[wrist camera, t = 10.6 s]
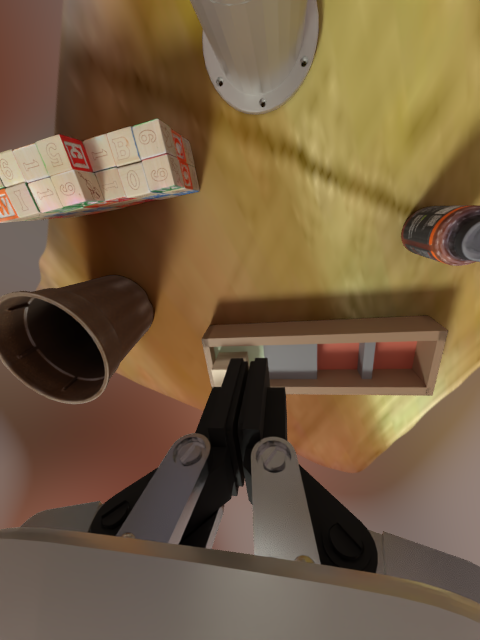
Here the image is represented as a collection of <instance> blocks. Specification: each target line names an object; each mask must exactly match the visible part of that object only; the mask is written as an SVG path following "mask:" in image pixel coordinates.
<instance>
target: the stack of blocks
mask: <svg viewBox="0 0 480 640" xmlns="http://www.w3.org/2000/svg"><path fill="white" fill-rule="evenodd" d="M199 191H200V189H199V185H198V180H197V175H196V170H195V165H194V160H193V155H192V150H191V146H190V142H189V141H188V140H187V139H185V138H183V137H182V136H181V135H180V134H178V133H177V132H175V131H174V130H172V129H170V127H169V126H168V125H167V124H165V123H164V122H162V121H161V120H159V119H153V120H150V121H147V122H144V123H141V124H137V125H135V126H133V127H131V126H129V127H126V128H123V129H119V130H116V131H113V132H109V133H107V134H102V135H99V136H96V137H93V138H90V139H87V140H85V141H84V142H82V141H80V140H78V139H74V138H71V137H68V136H64V135H61V134H58V135H55V136H52V137H49V138H46V139H43V140H40V141H37V142H36V143H34V144H30V145H27V146H24V147H21V148H17V149H15V150H13V149H12V150H7V151H4V152H1V153H0V222H1V223H3V222H15V221H29V220H43V219H51V218H61V217H62V218H70V217H79V216H83V215H89V214H96V213H101V212H106V211H111V210H117V209H121V208H125V207H126V206H131V205H136V204H141V203H143V202H149V201H153V200H163V199H168V198H173V197H177V196H180V195H185V194H190V193H194V192H199Z"/></svg>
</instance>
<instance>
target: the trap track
mask: <svg viewBox="0 0 480 640" xmlns="http://www.w3.org/2000/svg"><path fill="white" fill-rule="evenodd" d="M447 333H448V330H447V329H445V328H444V327H443V326H442V325H440V324H439V323H438V322H436V321H435V320H434V319H432V318H431V317H430V316H406V317H383V318H361V319H339V320H317V321H294V322H272V323H250V324H227V325H210V326H209V327H208V329H207V331H206V332H205V334H204V336H203V337H202V344H203V348H204V353H205V358H206V363H207V367H208V372H209V377H210V382H211V386H212V389H213V387H215V385H214V380H213V376H212V371H211V369H212V367H213V365H214V362H215V360H216V358H217V355H218V353H219V352H248V359H249V366H250V362H251V361H255V358H268V367H269V378H270V387H285V392H286V394H334V395H433V391H434V387H435V383H436V379H437V374H438V370H439V366H440V362H441V358H442V354H443V350H444V346H445V341H446V337H447Z"/></svg>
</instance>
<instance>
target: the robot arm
mask: <svg viewBox="0 0 480 640" xmlns="http://www.w3.org/2000/svg"><path fill="white" fill-rule="evenodd" d="M190 1H191V3H192V6H193V8H194V10H195V12H196V14H197V17H198V19H199V21H200V23H201V25H202V28H203V36H202V42H203V55H204V60H205V65H206V69H207V71H208V74H209V77H210V79H211V81H212V83H213V85H214V87H215V89H216V90H217V92H218V93H219V95H220V96H221V98H222V99H224V100H225V101H226V102H227V103H228V104H229V105H230V106H231V107H233V108H235V109H236V110H238V111H241V112H243V113H246V114H256V115H257V114H264V113H268V112H270V111H273V110H276V109H277V108H279V107H280V106H282V105H283V104H285V103H286V102H287V101H288V100H289V99H290V98H291V97H292V96H294V94H295V93H296V92H297V90H298V89H299V88H300V86H301V85H302V84H303V82H304V80H305V78H306V76H307V74H308V72H309V70H310V67H311V64H312V62H313V59H314V54H315V50H316V46H317V39H318V32H319V14H318V7H317V0H190ZM302 63H305V64H306V66H305V67H302ZM221 82H222V83H223V85H222V86H221V87H220V83H221ZM262 103H265V107H261V104H262ZM244 479H245V481H246V486H247V493H248V497H249V501H250V502H251V504H252V505H253V530H254V555H250V554H243V553H236V552H229V551H221V550H214V549H212V546H213V543H214V540H215V536H216V534H217V531H218V527H219V524H220V521H221V518H222V515H223V512H224V504H225V503H226V502H228V501H229V500H230V499H231V496H237V494H238V488H239V486H243V485H244ZM0 640H480V567H479V566H477V565H475V564H473V563H472V562H470V561H467V560H464V559H461V558H459V557H456V556H453V555H450V554H447V553H444V552H441V551H438V550H436V549H433V548H430V547H427V546H424V545H421V544H418V543H415V542H413V541H410V540H407V539H404V538H401V537H398V536H395V535H392V534H389V533H387V532H384V531H383V534H382V535H381V534H379V533H376V532H373V531H370V530H368V529H367V528H366V527H365V526H364V525H363V524H362V522H361V521H360V520H358V519H357V518H356V517H355V516H354V515H353V514H352V513H351V512H350V511H349V510H348V509H347V508H346V507H344V506H343V505H342V504H341V503H340V502H339V501H338V500H337V499H336V498H335V497H334V496H332V495H331V494H330V493H329V492H328V491H327V490H326V489H325V488H324V487H323V486H322V485H321V484H320V483H319V482H317V481H316V480H315V479H314V478H313V477H312V476H311V475H310V474H309V473H308V472H307V471H306V470H304V469H303V468H302V467H301V466H300V465H299V464H298V460H297V456H296V452H295V450H294V448H293V446H292V445H291V444H290V443H289V442H288V441H287V410H286V392H285V387H270V378H269V367H268V358H255V361H251V362H250V367H249V366H248V361H244V360H243V358H231V359H230V362H229V365H228V368H227V371H226V374H225V377H224V380H223V383H222V385H221V387H213V389H212V391H211V393H210V396H209V398H208V401H207V404H206V406H205V409H204V411H203V414H202V417H201V419H200V422H199V425H198V427H197V430H196V432H195V433H192V434H188V435H185V436H183V437H181V438H180V439H178V440H177V441H176V442H175V443H174V444H173V446H172V447H171V448H170V450H169V451H168V453H167V455H166V456H165V458H164V459H163V461H162V463H161V464H160V466H159V467H158V468H157V469H155V470H153V471H152V472H150V473H149V474H147V475H146V476H144V477H142V478H141V479H139V480H138V481H136V482H135V483H133V484H132V485H130V486H129V487H127V488H125V489H124V490H122V491H121V492H119V493H118V494H116V495H115V496H113V497H112V498H111V499H109V500H108V501H107V502H105V503H104V504H102V503H101V502H100V501H97V502H91V503H85V504H80V505H73V506H67V507H62V508H56V509H50V510H45V511H42V512H39V513H37V514H36V515H34V516H32V517H31V518H30V519H28V520H27V521H26V522H25V523H24V524H23V525H22V526H21V527H18V528H7V529H1V530H0Z"/></svg>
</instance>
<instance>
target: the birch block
mask: <svg viewBox="0 0 480 640" xmlns="http://www.w3.org/2000/svg"><path fill="white" fill-rule="evenodd" d="M231 358H243V360H244V361H248V366H249V359H248V352H219V353H218V355H217V358H216V360H215V362H214V365H213V367H212V369H211V371H212V376H213V380H214V385H215V387H221V385H222V383H223V380H224V377H225V374H226V371H227V368H228V365H229V362H230V359H231ZM249 367H250V366H249Z"/></svg>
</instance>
